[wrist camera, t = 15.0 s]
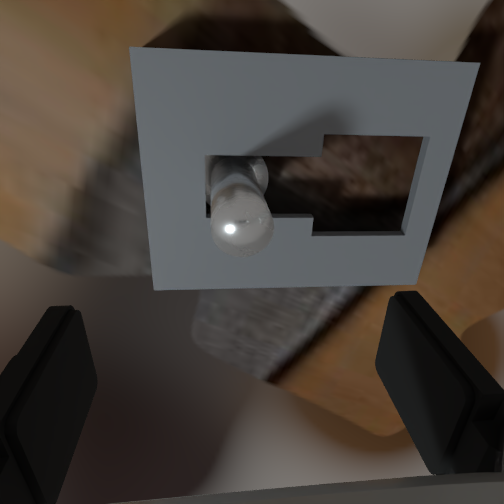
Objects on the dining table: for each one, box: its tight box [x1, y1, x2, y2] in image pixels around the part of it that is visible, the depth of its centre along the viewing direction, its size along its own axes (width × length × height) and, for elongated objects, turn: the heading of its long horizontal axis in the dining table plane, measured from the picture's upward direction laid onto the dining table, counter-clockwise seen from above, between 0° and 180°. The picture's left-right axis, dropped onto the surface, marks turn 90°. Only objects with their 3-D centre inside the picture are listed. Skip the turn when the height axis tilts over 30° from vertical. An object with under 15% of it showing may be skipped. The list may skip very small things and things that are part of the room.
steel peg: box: [205, 155, 274, 257], centre depth 29 cm, size 6×6×13 cm
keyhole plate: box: [129, 47, 480, 290], centre depth 33 cm, size 20×26×4 cm
